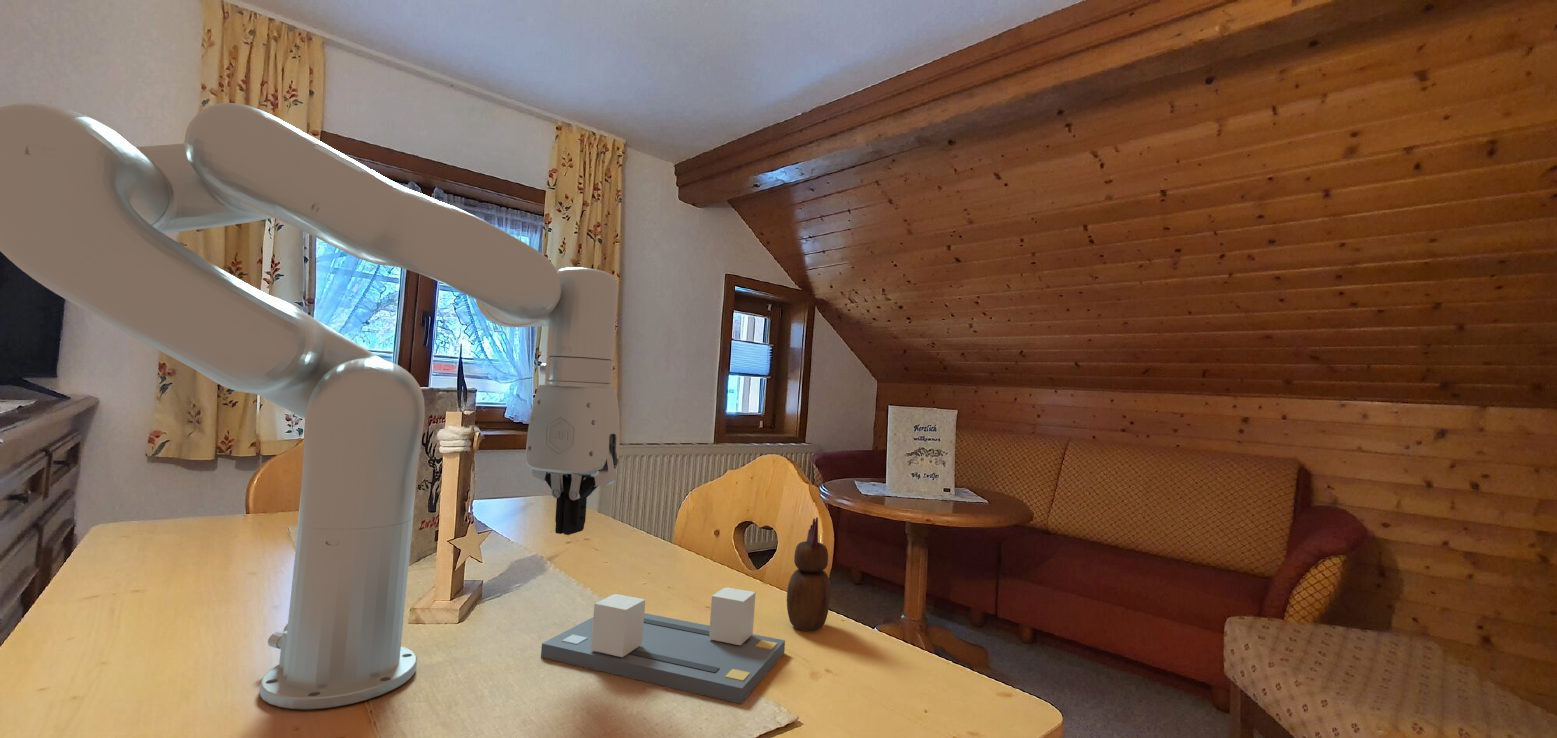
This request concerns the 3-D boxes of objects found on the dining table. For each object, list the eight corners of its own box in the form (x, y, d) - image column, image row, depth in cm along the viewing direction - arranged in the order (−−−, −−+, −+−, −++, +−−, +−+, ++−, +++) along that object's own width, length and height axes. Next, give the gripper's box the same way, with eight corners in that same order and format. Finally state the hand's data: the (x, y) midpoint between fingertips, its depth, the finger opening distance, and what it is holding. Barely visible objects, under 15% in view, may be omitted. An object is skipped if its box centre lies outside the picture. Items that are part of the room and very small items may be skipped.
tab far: (708, 639, 74) (711, 595, 74) (722, 628, 78) (725, 587, 78) (740, 645, 73) (743, 601, 73) (752, 633, 76) (755, 592, 77)
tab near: (590, 650, 69) (594, 603, 69) (611, 637, 72) (614, 593, 73) (622, 657, 67) (626, 609, 68) (641, 644, 71) (645, 599, 71)
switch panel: (540, 657, 70) (542, 642, 70) (611, 618, 83) (612, 606, 83) (741, 703, 62) (742, 687, 62) (784, 652, 76) (785, 639, 76)
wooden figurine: (824, 638, 81) (832, 521, 82) (781, 632, 82) (788, 516, 83) (831, 621, 88) (837, 512, 89) (790, 615, 89) (797, 508, 90)
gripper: (504, 370, 73) (494, 530, 72) (616, 375, 68) (606, 547, 67) (547, 373, 80) (538, 519, 79) (651, 378, 75) (642, 533, 74)
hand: (569, 531), depth 73 cm, fingers closed
